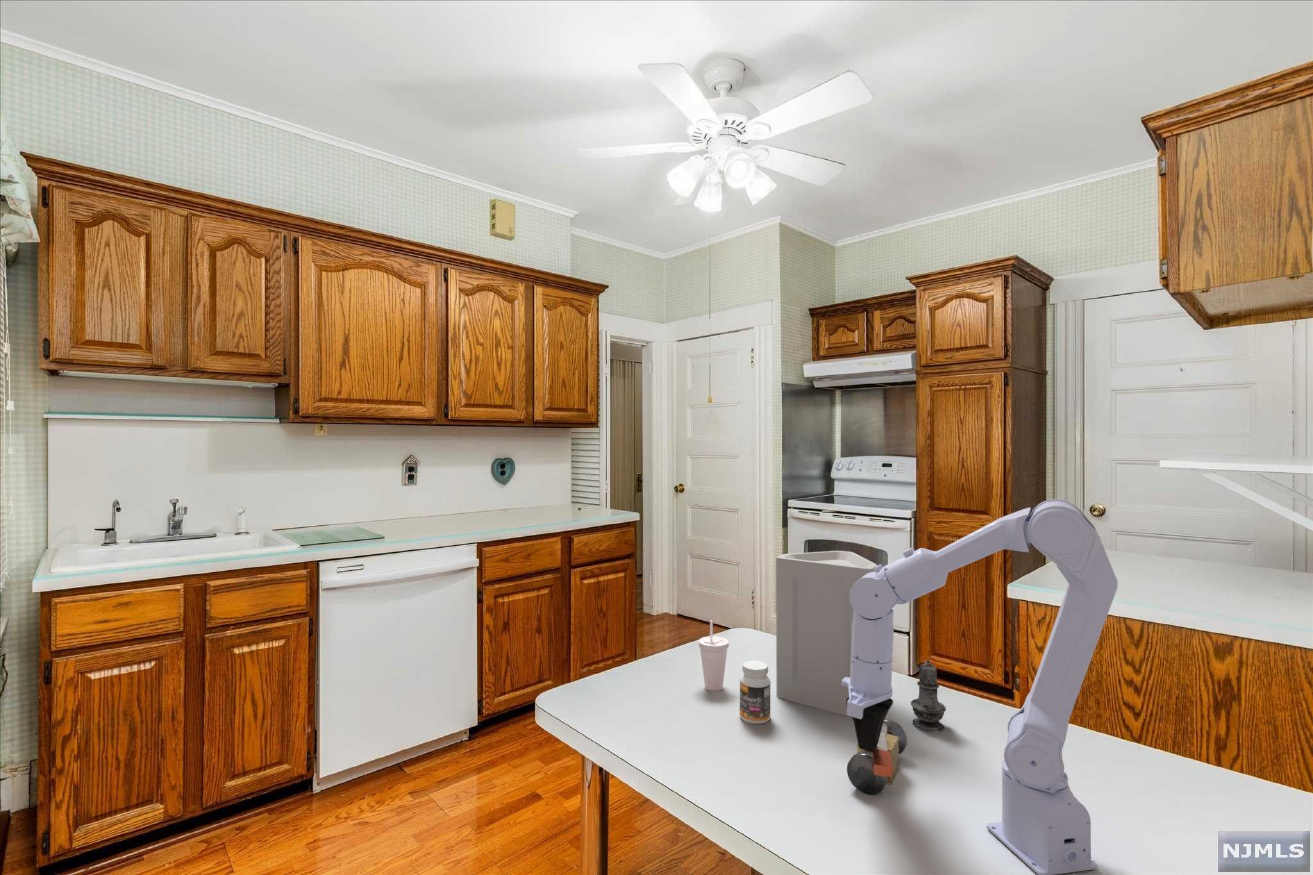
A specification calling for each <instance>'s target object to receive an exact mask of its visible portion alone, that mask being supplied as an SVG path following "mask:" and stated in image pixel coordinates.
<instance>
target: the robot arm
mask: <svg viewBox="0 0 1313 875" xmlns="http://www.w3.org/2000/svg"><path fill="white" fill-rule="evenodd" d="M1030 512H1031V513H1030ZM1031 545H1033V546H1032V547H1034V548H1035V549H1036V550H1037V551H1039V553H1041V554H1042V555H1043V556H1045V557H1046V559H1049V561H1051V562H1052V563H1053V564H1055V566H1056V567H1057V568H1058V570H1059V572H1060V573H1061V575H1062V576H1063V577H1064V579H1065V580H1066V581H1067V583H1068V584H1067V588H1066V589H1065V593H1064V596H1063V599H1062V601H1061V604H1060V607H1059V610H1058V613H1057V615H1056V619H1055V621H1054V623H1053V627H1052V630H1051V632H1050V634H1049V638H1048V640H1047V644H1046V647H1045V649H1044V652H1043V654H1042V657H1041V659H1040V660H1041V661H1040V663H1039V666H1038V669H1037V671H1036V675H1035V678H1034V680H1033V683H1032V685H1031V688H1030V691H1029V693H1028V694H1027V696H1026V697H1025V701H1024V703H1023V705H1022V707H1021V708H1020V709H1019V710H1018V711H1016V712H1014V713H1013V714H1012V715H1011V717H1010V718H1009V720H1008V723H1007V740H1006V744H1005V747H1004V751H1003V759H1004V760H1003V761H1002V763H1001V776H1002V777H1001V782H1002V783H1001V784H1002V785H1001V790H1002V791H1001V798H1002V799H1001V803H1002V804H1001V806H1002V808H1001V812H1002V814H1001V816H1002V817H1001V818H1002V819H1001V821H997V822H989V823H986V828H987V830H988V831H989V832H990V833H991V834H993V835H994V836H995V837H996V838H997V839H998V840H999V841H1001V842H1002V844H1004V845H1005V846H1006V847H1007V848H1008V849H1009V850H1010V851H1012V852H1013V853H1014V855H1016V856H1017V857H1018V858H1019V859H1020V860H1021V861H1022V862H1024V864H1026V865H1027V866H1028V867H1029V868H1030V869H1031V870H1032V871H1034V872H1035V873H1036V874H1037V875H1060V874H1061V875H1062V874H1070V873H1075V872H1076V873H1077V872H1084V871H1091V870H1097V869H1098V868H1097V867H1098V865H1097V863H1096V862H1095V861H1093V860H1092V847H1091V846H1092V843H1091V841H1092V836H1091V835H1092V833H1091V832H1092V826H1091V825H1092V822H1091V817H1090V813H1089V811H1088V810H1087V808H1086V806H1084V805H1083V803H1081V802H1080V801H1079V800H1078V799H1077V797H1076V796H1075V795H1074V793H1073V792H1072V790H1071V787H1070V784H1069V778H1068V775H1067V772H1065V765H1064V764H1065V763H1064V759H1063V750H1064V746H1065V742H1066V738H1067V735H1068V729H1069V724H1070V723H1069V722H1070V718H1071V715H1072V712H1073V710H1074V706H1075V704H1076V701H1077V698H1078V696H1079V693H1080V690H1081V688H1082V685H1083V682H1084V680H1085V678H1086V674H1087V671H1088V669H1089V666H1090V664H1091V661H1092V658H1093V655H1094V654H1095V653H1094V652H1095V650H1096V647H1097V645H1098V641H1099V639H1100V636H1101V633H1102V631H1103V627H1104V626H1105V623H1106V620H1107V617H1108V615H1109V612H1110V610H1111V606H1112V604H1113V600H1114V598H1115V597H1116V592H1117V589H1118V584H1119V583H1118V579H1117V576H1116V574H1115V572H1114V568H1113V566H1112V564H1111V561H1110V558H1109V557H1108V555H1107V552H1106V550H1105V547H1104V545H1103V543H1102V540H1101V538H1100V534H1099V533H1098V531H1097V529H1096V527H1095V525H1094V523H1093V522H1092V521H1091V520H1090V519H1089V518H1088V517H1087V516H1086V515H1085V514H1084V513H1083V511H1081V509H1080V507H1078V506H1076V505H1075V504H1073V503H1071V502H1069V501H1067V500H1064V499H1053V498H1052V499H1048V500H1044V501H1042V502H1039V503H1038V504H1037V505H1036V506H1035V507H1034V508H1033V509H1032V510H1031V507H1027V508H1023V509H1021V510H1018V511H1014V512H1012V513H1009V514H1007V515H1004V516H1002V517H999V518H997V519H996V520H994V521H992V522H990V523H988V524H986V525H984V526H982V527H981V528H979V529H976V530H974V531H973V532H971V533H969V534H967V535H965V536H963V537H961V538H960V539H957V540H955V541H954V542H951V543H950V544H948V545H946V546H944V547H942V548H940V549H939V550H930V549H927V548H923V547H920V548H918V549H916V550H915V549H914V548H913V547H909V548H908V549H906V550H904V551H903V552H902V555H903V556H902V557H899V559H896V560H894V561H891V562H890V563H888V564H886V565H883V564H877V566H876V567H875V568H874V570H875V572H870V573H868V574H866V575H864V576H863V577H862V578H861V579H859V580H858V581H857V582H856V583H855V584H854V585H853V586H852V588H851V590H850V594H849V599H850V603H851V606H852V607H853V609H854V612H853V623H852V643H851V667H850V678H849V677H845V678H844V679H843V680H842V685H843V686H846V687H848V691H849V697H848V698H847V699H846V707H847V715H846V716H847V717H851V719H852V722H853V726H854V730H855V735H856V740H857V741H858V745H859V748H860V749H863V750H866V751H869V752H872V749H875V747H876V746H877V744H878V741H879V737H880V733H881V730H882V726H883V723H884V720H885V719H886V717H887V715H888V714H889V713H888V712H889V710H890V709H891V707H892V706H893V705H894V700H893V699H892V697H893V687H892V680H893V679H892V677H893V676H892V675H893V652H894V650H893V649H894V630H895V628H894V609H893V608H894V607H895V606H896V605H905V604H907V603H909V602H913V601H914V600H916V599H918V598H920V597H923V596H924V595H928V594H930V593H931V592H934V591H936V590H938V589H940V588H943V587H945V585H946V583H947V578H948V575H949V573H951V572H953V571H955V570H957V569H960V568H962V567H965V566H967V565H969V564H971V563H974V562H977V561H979V560H981V559H984V558H986V557H988V556H991V555H993V554H995V553H999V552H1000V551H1003V550H1008V551H1015V552H1022V553H1023V552H1024V553H1029V552H1030V547H1031Z"/></svg>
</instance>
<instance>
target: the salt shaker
mask: <svg viewBox="0 0 1313 875" xmlns="http://www.w3.org/2000/svg"><path fill="white" fill-rule="evenodd" d="M930 662H931V661H930V659H928V658H927V659H926V660H925V663H921V665H920V666H919V681H917V684H916V685H918V698H914V699H912V700H911V701H910V705H911V707H912V711H913V714H914V715H915V716H916V717H915V719H913V720H912V725H913V726H914V727H915V728H916V729H919V730H921V731H924V732H928V733H930V732H931V733H940V732H942V731H944V730H945V725H944V724H943V723H942V722H941V720H942V719H943V717H944V715H945V712H946V711H947V708H946V706H945V705H944V704H943V703H941V702H940V701H939V699H938V689H939V687H940V685H939V684H938V682H937V681H938V678H937V676H938V673H937V672H938V670H937V667H936V666H935V665H933V664H931V663H930Z"/></svg>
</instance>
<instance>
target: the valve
mask: <svg viewBox="0 0 1313 875" xmlns="http://www.w3.org/2000/svg"><path fill="white" fill-rule="evenodd" d="M884 724H885V725H886V726H887V737H886V743H887V750H888V751H890V754H891V760H892V766H893V777H886V776H879V775H874V769H873V759H872V752H869V751H866V750H863V749H860V748H859V745H858V741H857V742H856V743H857V744H856V746H857V753H855V754H854V755H852V756H851V757H850V759H849V760H848V762H847V765H846V772H847V777H848V780H849V782H850V783H851V785H852V786H853V787H854V788H855V789H857V791H859V792H860V793H862V794H865V795H868V796H876V795H878V794H880V793H882V792H883V791H884V790H885V787H886V786H887V785H890V786H891V785H892V784H893V781H894V780H895V779H896V776H897V774H898V772H899V770H900V768H899V767H900V766H899V765H900V764H899V763H900V762H899V761H900V760H899V758H900V755H901V754H902V753H903V752H904V751H905V749H906V747H907V744H908V738H907V734H906V732H905V730H904V729H903V727H902V725H900V724H899V723H898V722H897V721H895V720H892V719H890V718H885V720H884Z"/></svg>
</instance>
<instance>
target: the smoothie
mask: <svg viewBox="0 0 1313 875" xmlns="http://www.w3.org/2000/svg"><path fill="white" fill-rule="evenodd" d="M713 630H714V628H713V620H712V619H711V620H709V636H703V637H700V638H699V640H698V648H700V657H701V658H700V659H701V664H702V665H701V666H702V672H703V681H704V688H705V689H706V690H708V691H714V692H716V691H721V690H723V688H724V681H725V680H724V679H725V670H726V663H727V662H726V661H727V654H728V648H730V645H729V644H730V641H729V640H728V639H727V638H726V637H725V638H724V637H723V636H715V635H713V634H714V632H713Z"/></svg>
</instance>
